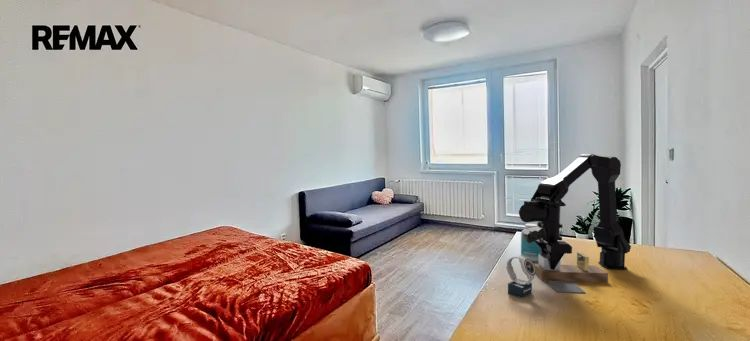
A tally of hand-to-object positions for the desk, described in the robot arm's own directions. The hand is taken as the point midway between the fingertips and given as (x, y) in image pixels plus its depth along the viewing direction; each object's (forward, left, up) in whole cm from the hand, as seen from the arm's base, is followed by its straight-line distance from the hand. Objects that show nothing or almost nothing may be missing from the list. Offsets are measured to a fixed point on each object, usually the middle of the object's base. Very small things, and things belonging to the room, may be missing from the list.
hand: (549, 266), depth 111 cm
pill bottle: (0, -18, -4) cm, 18 cm away
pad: (-1, +9, -4) cm, 9 cm away
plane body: (-6, 0, -4) cm, 7 cm away
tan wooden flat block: (-10, 0, 0) cm, 11 cm away
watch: (+14, +14, -4) cm, 20 cm away
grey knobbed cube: (0, 0, 0) cm, 0 cm away
